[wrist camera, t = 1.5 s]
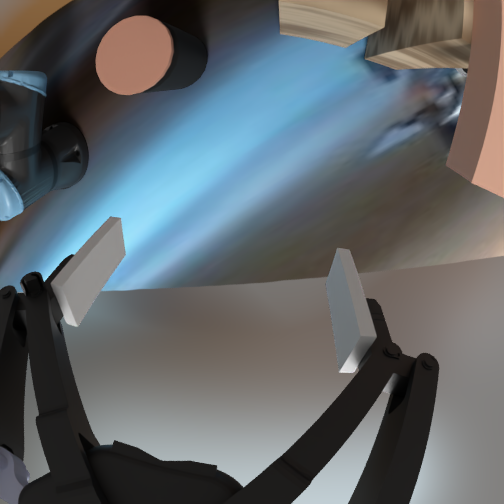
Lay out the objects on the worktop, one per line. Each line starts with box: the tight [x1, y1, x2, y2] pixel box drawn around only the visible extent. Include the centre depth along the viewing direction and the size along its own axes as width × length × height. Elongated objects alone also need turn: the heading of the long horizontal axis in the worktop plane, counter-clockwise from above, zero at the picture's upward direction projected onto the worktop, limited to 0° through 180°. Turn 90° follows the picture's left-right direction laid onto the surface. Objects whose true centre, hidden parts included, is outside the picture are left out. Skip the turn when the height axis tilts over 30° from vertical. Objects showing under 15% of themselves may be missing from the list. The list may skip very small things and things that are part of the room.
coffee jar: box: [96, 16, 207, 95], centre depth 33 cm, size 11×11×18 cm
